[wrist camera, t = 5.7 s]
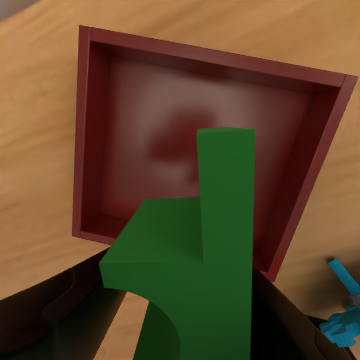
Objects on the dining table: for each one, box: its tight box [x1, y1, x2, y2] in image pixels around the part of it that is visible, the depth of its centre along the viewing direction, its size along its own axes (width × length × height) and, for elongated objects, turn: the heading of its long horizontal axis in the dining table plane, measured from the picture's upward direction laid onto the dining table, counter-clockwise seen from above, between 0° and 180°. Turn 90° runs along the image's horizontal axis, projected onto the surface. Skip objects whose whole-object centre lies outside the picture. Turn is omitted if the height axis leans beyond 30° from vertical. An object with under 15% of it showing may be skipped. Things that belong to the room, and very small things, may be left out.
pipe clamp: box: [99, 127, 255, 360], centre depth 8 cm, size 11×4×5 cm, turn 4°
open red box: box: [72, 25, 358, 282], centre depth 17 cm, size 19×17×4 cm
